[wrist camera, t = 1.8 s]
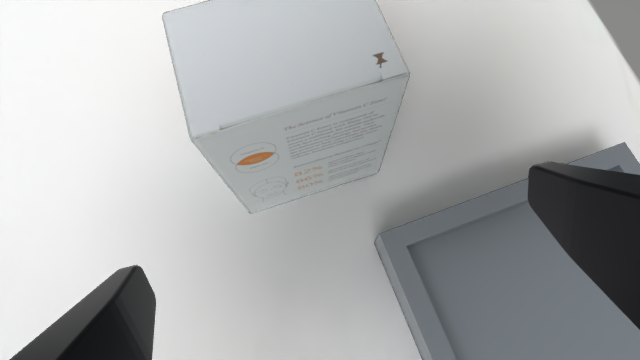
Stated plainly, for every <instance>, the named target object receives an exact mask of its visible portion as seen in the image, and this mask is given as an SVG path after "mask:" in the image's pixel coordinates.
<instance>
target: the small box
mask: <svg viewBox="0 0 640 360" xmlns="http://www.w3.org/2000/svg"><path fill="white" fill-rule="evenodd" d="M162 19H163V23H164V28H165V32H166V37H167V41H168V46H169V50H170V54H171V59H172V63H173V67H174V72H175V76H176V80H177V84H178V89H179V93H180V97H181V101H182V106H183V110H184V114H185V119H186V123H187V127H188V131H189V136H190V139H191V141H192V142H193V143H194V145H195V146H196V147H197V148H198V149H199V151H200V152H201V153H202V154H203V156H204V157H205V158H206V159H207V161H208V162H209V163H210V164H211V166H212V167H213V168H214V169H215V171H216V172H217V173H218V174H219V176H220V177H221V178H222V179H223V181H224V182H225V183H226V184H227V186H228V187H229V188H230V189H231V191H232V192H233V193H234V194H235V195H236V197H237V198H238V199H239V200H240V202H241V203H242V204H243V205H244V207H245V208H246V209H247V210H248V212H249V213H251V214H253V213H256V212H258V211H261V210H264V209H267V208H270V207H273V206H277V205H280V204H282V203H286V202H289V201H292V200H295V199H298V198H301V197H304V196H307V195H310V194H313V193H316V192H320V191H323V190H326V189H329V188H332V187H335V186H338V185H341V184H344V183H347V182H350V181H353V180H356V179H359V178H362V177H366V176H369V175H372V174H376V173H378V172H379V170H380V166H381V163H382V160H383V157H384V154H385V151H386V148H387V144H388V141H389V138H390V135H391V132H392V129H393V126H394V123H395V119H396V117H397V114H398V111H399V108H400V105H401V102H402V98H403V95H404V92H405V89H406V86H407V83H408V80H409V76H410V73H409V70H408V68H407V66H406V64H405V62H404V60H403V58H402V56H401V54H400V51H399V49H398V47H397V45H396V43H395V41H394V38H393V36H392V34H391V32H390V30H389V28H388V26H387V23H386V21H385V19H384V17H383V15H382V13H381V11H380V9H379V7H378V4H377V2H376V0H208V1H205V2H201V3H198V4H194V5H191V6H187V7H183V8H179V9H176V10H172V11H168V12H165V13H163V15H162Z"/></svg>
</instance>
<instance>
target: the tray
mask: <svg viewBox="0 0 640 360" xmlns="http://www.w3.org/2000/svg"><path fill="white" fill-rule="evenodd" d="M568 164H569V165H576V166H583V167H590V168H597V169H603V170H610V171H617V172H624V173H631V174H637V175H640V164H639V162H638V161H637V159H636V158H635V157H634V155H633V154H632V152H631V151H630V149H629V148H628V146H627V145H626V143H625V142H624V143H621V144H618V145H616V146H613V147H610V148H608V149H605V150H602V151H600V152H597V153H594V154H592V155H589V156H586V157H584V158H581V159H578V160H576V161H573V162H570V163H568ZM374 244H375V247H376V249H377V251H378V254H379V256H380V259H381V261H382V263H383V266H384V268H385V271H386V273H387V276H388V278H389V280H390V283H391V285H392V288H393V290H394V292H395V295H396V297H397V300H398V302H399V304H400V307H401V309H402V312H403V314H404V316H405V319H406V321H407V324H408V326H409V328H410V331H411V333H412V336H413V338H414V341H415V343H416V345H417V348H418V350H419V353H420V355H421V357H422V360H640V330H639V329H638V328H637V327H636V326H635V325H634V324H633V323H632V322H631V321H630V320H629V319H628V318H627V316H626V315H625V314H624V313H623V312H622V311H621V310H620V309H619V308H618V307H617V306H616V305H615V304H614V303H613V302H612V301H611V300H610V299H609V298H608V297H607V296H606V295H605V294H604V292H603V291H602V290H601V289H600V288H599V287H598V286H597V285H596V284H595V283H594V282H593V281H592V280H591V279H590V278H589V277H588V276H587V275H586V274H585V273H584V272H583V271H582V270H581V269H580V267H579V266H578V265H577V264H576V263H575V262H574V261H573V260H572V259H571V258H570V257H569V255H568V254H567V253H566V252H565V251H564V249H563V248H562V247H561V246H560V244H559V243H558V242H557V241H556V239H555V238H554V237H553V235H552V234H551V233H550V232H549V230H548V229H547V228H546V226H545V225H544V224H543V223H542V221H541V220H540V219H539V217H538V216H537V215H536V213H535V212H534V211H533V210H532V208H531V207H530V205H529V202H528V179H525V180H522V181H520V182H517V183H514V184H512V185H509V186H506V187H504V188H501V189H498V190H496V191H493V192H490V193H488V194H485V195H482V196H480V197H477V198H474V199H472V200H469V201H466V202H463V203H461V204H458V205H455V206H453V207H450V208H447V209H445V210H442V211H439V212H437V213H434V214H431V215H429V216H426V217H423V218H421V219H418V220H415V221H413V222H410V223H407V224H405V225H402V226H399V227H397V228H394V229H391V230H389V231H386V232H383V233H381V234H379V235H378V237H377V239H376V241H375V242H374Z"/></svg>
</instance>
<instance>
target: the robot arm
mask: <svg viewBox="0 0 640 360" xmlns="http://www.w3.org/2000/svg"><path fill="white" fill-rule="evenodd" d="M528 202H529V205H530V207H531V208H532V210H533V211H534V212H535V213H536V215H537V216H538V217H539V219H540V220H541V221H542V223H543V224H544V225H545V226H546V228H547V229H548V230H549V232H550V233H551V234H552V235H553V237H554V238H555V239H556V241H557V242H558V243H559V244H560V246H561V247H562V248H563V249H564V251H565V252H566V253H567V254H568V255H569V257H570V258H571V259H572V260H573V261H574V262H575V263H576V264H577V265H578V266H579V267H580V269H581V270H582V271H583V272H584V273H585V274H586V275H587V276H588V277H589V278H590V279H591V280H592V281H593V282H594V283H595V284H596V285H597V286H598V287H599V288H600V289H601V290H602V291H603V292H604V294H605V295H606V296H607V297H608V298H609V299H610V300H611V301H612V302H613V303H614V304H615V305H616V306H617V307H618V308H619V309H620V310H621V311H622V312H623V313H624V314H625V315H626V316H627V318H628V319H629V320H630V321H631V322H632V323H633V324H634V325H635V326H636V327H637V328H638V329H639V330H640V175H637V174H631V173H624V172H617V171H610V170H603V169H597V168H590V167H583V166H576V165H569V164H563V163H556V162H544V163H540V164H536V165H533V166H532V167H531V168H530V170H529V174H528ZM155 311H156V298H155V294H154V292H153V290H152V288H151V286H150V284H149V281H148V279H147V277H146V275H145V273H144V271H143V269H142V268H141V267H140V266H138V265H134V266H130V267H126V268H122V269H119V270H117V271H116V272H115V273H114V274H112V275H111V276H110V277H109V278H108V279H106V280H105V281H104V282H103V283H102V284H100V285H99V286H98V287H97V288H96V289H94V290H93V291H92V292H91V293H90V294H88V295H87V296H86V297H85V298H83V299H82V300H81V301H80V302H79V303H77V304H76V305H75V306H74V307H73V308H71V309H70V310H69V311H68V312H67V313H65V314H64V315H63V316H62V317H61V318H59V319H58V320H57V321H56V322H54V323H53V324H52V325H51V326H50V327H48V328H47V329H46V330H45V331H44V332H42V333H41V334H40V335H39V336H38V337H36V338H35V339H34V340H33V341H32V342H30V343H29V344H28V345H27V346H25V347H24V348H23V349H22V350H21V351H19V352H18V353H17V354H16V355H15V356H13V357H12V358H11V359H10V360H152V352H153V338H154V325H155Z"/></svg>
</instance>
